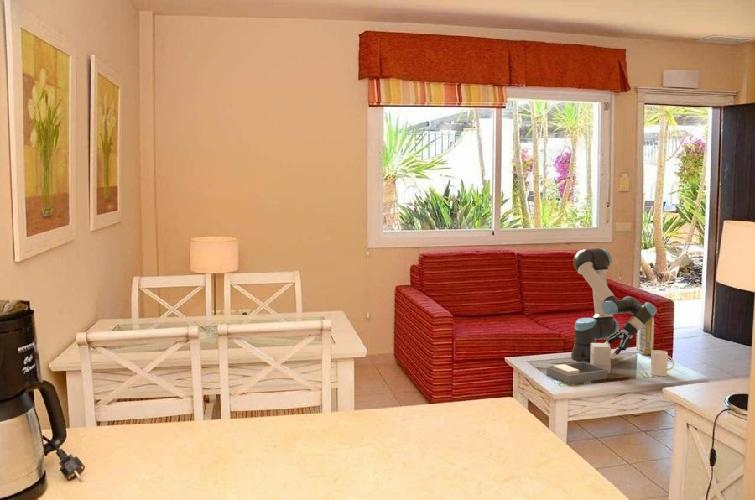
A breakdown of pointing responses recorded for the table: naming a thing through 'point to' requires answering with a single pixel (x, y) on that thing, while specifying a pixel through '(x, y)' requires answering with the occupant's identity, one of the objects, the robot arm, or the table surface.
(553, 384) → the table surface
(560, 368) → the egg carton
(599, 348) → the supplement box
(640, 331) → the juice carton
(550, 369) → the tray
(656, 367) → the mug
